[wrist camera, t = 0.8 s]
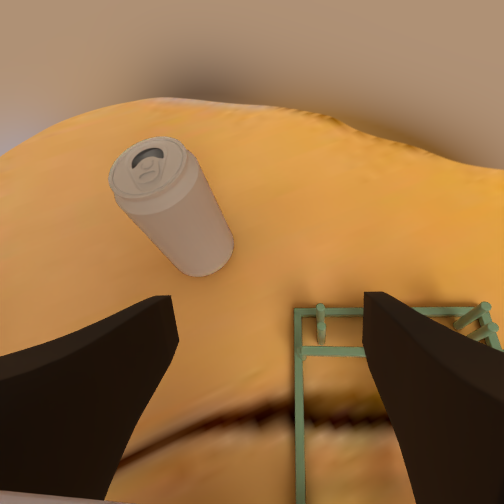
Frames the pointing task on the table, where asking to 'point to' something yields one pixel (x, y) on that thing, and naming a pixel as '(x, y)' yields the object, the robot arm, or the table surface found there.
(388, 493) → the table surface
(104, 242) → the table surface
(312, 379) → the table surface
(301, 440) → the rack
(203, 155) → the table surface
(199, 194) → the beverage can
